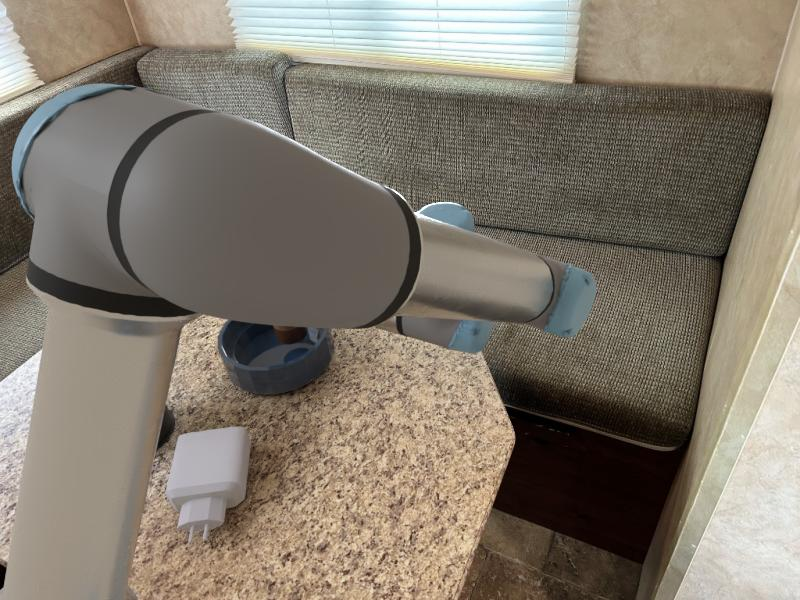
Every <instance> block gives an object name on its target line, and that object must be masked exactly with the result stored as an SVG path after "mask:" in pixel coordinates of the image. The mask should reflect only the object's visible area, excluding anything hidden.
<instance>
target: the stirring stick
mask: <svg viewBox="0 0 800 600" xmlns="http://www.w3.org/2000/svg"><path fill="white" fill-rule="evenodd" d="M273 328H274V331H275V334H276V338H277V340H278V341H279V342H280V343H282V344H288V345H289V344H295V343H298V342H300V341H301V340H303V339H304V338H305V337H306V335H307V328H306V327H293V326H277V325H273Z"/></svg>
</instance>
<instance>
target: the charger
mask: <svg viewBox="0 0 800 600" xmlns="http://www.w3.org/2000/svg"><path fill="white" fill-rule="evenodd" d="M251 447H252V441H251V439H250V437H249V433H248V431H247V429H246V428H245V427H243V426H228V427H221V428H213V429H206V430H199V431H193V432H187V433H183V434H179V436H178V437H177V440H176V445H175V448H174V453H173V457H172V462H171V467H170V470H169V475H168V478H167V479H168V480H167V483H166V489H165V492H164V494H165V496H166V498H167V500H168V502H169V503H170V506H171V507H172V509H174V510H175V511H176V512H177V513H178V514H179V517H178V523H177V527H176V529H177V530H179V531H182V532H189V535H188V541H187V543H189V544H192V543H194V538H195V537H194V536H195V533H198V532H203V535H202V541H203V542H206V541H208V536H209V531H212V530H214V529H216V528H219V527H220V526H222V525H223V524H224V523H225V518H226V511H227V509H232V508H236V507H237V506H238V505H240V503H242V502H243V501H244V500H245V499H246V493H247V492H246V491H247V484H248V476H249V475H248V474H249V465H250V457H251Z"/></svg>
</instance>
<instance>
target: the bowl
mask: <svg viewBox="0 0 800 600" xmlns="http://www.w3.org/2000/svg"><path fill="white" fill-rule="evenodd" d="M306 328H307V335H306V337H305V338H304V339H303V340H301V341H300V342H298V343H295V344H289V345H288V344H282V343H280V342H279V341H278V340H277V338H276V334H275V331H274V328H273V325H267V324H257V323H247V322H241V321H234V320H228V319H227V320H226V321H225V322H224V324H223V325H222V327H221V329H220V331H219V333H218V336H217V347H216V349H217V351H218V353H219V356H220V359H221V361H222V364H223V366H224V369H225V371H226V373H227V375H228V377H229V379H230V381H231V382H232V384H234V385H236V386H237V387H238V388H240V389H241V390H242V391H245V392H248V393H251V394H255V395H279V394H282V393H287V392H292V391H295V390H297V389H299V388H302V387H304V386H305V385H308V384H310V383H311V382H312V381H314V380H315V379H316V378H317V377H319V376H320V375H322V374H323V373H324V372H325V370H326V369H327V367H328V365H329V364H330V362H332V360H333V355H334V351H335V343H334V339H333V333H332V329H329V328H311V327H306Z"/></svg>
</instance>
